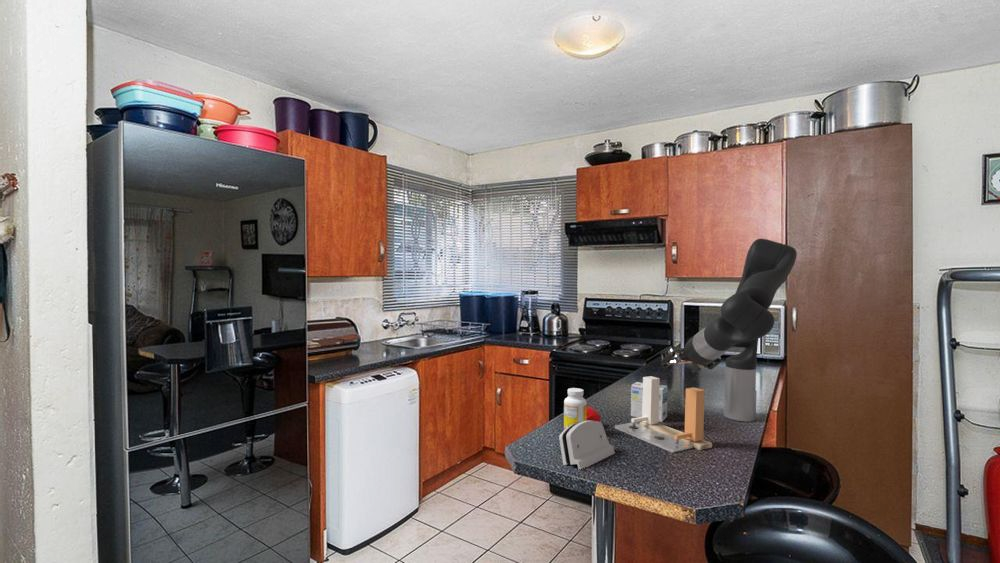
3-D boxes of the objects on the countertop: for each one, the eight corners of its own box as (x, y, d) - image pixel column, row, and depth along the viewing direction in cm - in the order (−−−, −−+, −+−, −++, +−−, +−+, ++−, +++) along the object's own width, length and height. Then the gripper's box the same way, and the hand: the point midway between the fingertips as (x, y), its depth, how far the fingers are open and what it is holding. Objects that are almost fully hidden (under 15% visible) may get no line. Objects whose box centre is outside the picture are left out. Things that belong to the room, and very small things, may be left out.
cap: (572, 417, 140) (589, 410, 138) (575, 406, 146) (591, 398, 143) (587, 437, 141) (604, 430, 139) (589, 425, 147) (605, 418, 144)
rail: (650, 424, 146) (650, 420, 146) (712, 447, 127) (712, 443, 127) (639, 426, 143) (639, 422, 143) (700, 450, 124) (700, 445, 124)
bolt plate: (633, 424, 145) (633, 421, 145) (692, 448, 126) (692, 444, 126) (614, 428, 141) (614, 425, 141) (672, 452, 122) (672, 449, 122)
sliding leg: (692, 436, 131) (694, 387, 131) (703, 440, 128) (704, 390, 128) (670, 441, 127) (671, 390, 127) (680, 446, 124) (682, 393, 124)
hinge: (579, 470, 109) (568, 428, 111) (564, 471, 112) (554, 430, 114) (615, 452, 121) (605, 414, 123) (601, 453, 124) (591, 416, 126)
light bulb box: (667, 417, 154) (668, 385, 154) (662, 422, 148) (663, 389, 148) (635, 411, 159) (636, 381, 159) (629, 416, 154) (630, 384, 154)
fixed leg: (649, 420, 145) (651, 376, 145) (658, 424, 142) (659, 378, 142) (628, 424, 141) (629, 378, 141) (636, 428, 138) (638, 381, 138)
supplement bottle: (579, 428, 140) (581, 386, 140) (589, 435, 134) (591, 391, 134) (559, 429, 138) (560, 387, 138) (569, 437, 132) (570, 393, 132)
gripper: (732, 335, 116) (700, 358, 130) (678, 327, 115) (652, 351, 129) (737, 363, 112) (704, 383, 126) (682, 355, 111) (654, 376, 125)
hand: (678, 367), depth 128 cm, fingers open, 8 cm apart
